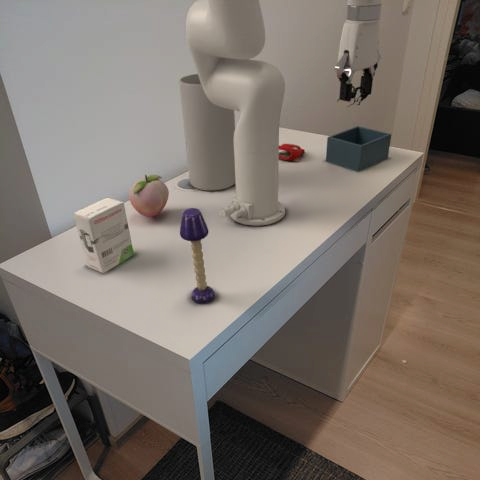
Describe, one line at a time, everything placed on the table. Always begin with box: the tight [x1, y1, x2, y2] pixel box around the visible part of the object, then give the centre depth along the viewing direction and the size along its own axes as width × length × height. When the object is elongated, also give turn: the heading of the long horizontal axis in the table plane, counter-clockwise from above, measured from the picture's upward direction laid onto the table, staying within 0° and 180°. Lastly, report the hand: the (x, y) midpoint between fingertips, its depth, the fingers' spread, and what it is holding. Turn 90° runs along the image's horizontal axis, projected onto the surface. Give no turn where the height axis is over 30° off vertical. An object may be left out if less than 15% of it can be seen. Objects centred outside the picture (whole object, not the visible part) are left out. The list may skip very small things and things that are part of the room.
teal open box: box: [325, 125, 392, 172], centre depth 134 cm, size 13×11×7 cm
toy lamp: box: [179, 207, 216, 305], centre depth 81 cm, size 5×5×17 cm
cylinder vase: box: [178, 73, 236, 192], centre depth 120 cm, size 12×12×25 cm
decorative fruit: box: [128, 174, 170, 218], centre depth 110 cm, size 9×8×10 cm
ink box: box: [72, 197, 135, 274], centre depth 94 cm, size 9×5×12 cm, turn 143°
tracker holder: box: [279, 143, 305, 162], centre depth 139 cm, size 12×4×10 cm
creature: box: [336, 80, 370, 108], centre depth 120 cm, size 8×5×8 cm
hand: (355, 96), depth 121 cm, fingers closed on creature, 7 cm apart
